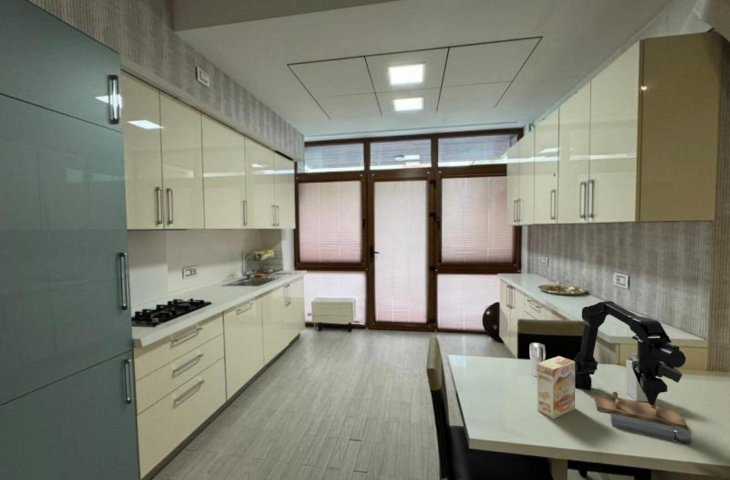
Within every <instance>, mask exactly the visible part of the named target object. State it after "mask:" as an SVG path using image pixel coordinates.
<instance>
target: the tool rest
mask: <svg viewBox="0 0 730 480" xmlns="http://www.w3.org/2000/svg"><path fill="white" fill-rule="evenodd" d="M618 395H619V393H618V392H616V391H612V395H611V396H610V395H607V394H602V393H598V392H597V393H596V392H594V393H593V397H594V402H595V406H596V410H597V411H599V412H600V411H601V412H604V413H605V412H606V413H609V414H610V413H612V414H617V415H621V416H626V417H630V418H635V419H640V420H644V421H649V422H653V423H658V424H663V425H667V426H672V427H680V428H683V429H686V430H687V429H688V428H687V427H688V426H687V424H686V422H685V421H684V419H683V418H682V416H681V414H679V412H678V411H677V409H676V408H673V407H668V406H663V405H662V406H661V405H658V402H657V400H656V401H655V404H654V405H650V404H649V402H644V401H636V400H634V399H633V400H632V399H627V398H622V397H619V396H618Z"/></svg>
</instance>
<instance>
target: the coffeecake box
mask: <svg viewBox="0 0 730 480" xmlns="http://www.w3.org/2000/svg"><path fill="white" fill-rule="evenodd" d="M536 378H537V379H536V382H537V390H536V391H537V392H536V393H537V396H536V398H537V409H536V410H537V411H538V412H539V413H542V414H544V415H545V416H548V417H549V418H551V419H553V420H554V419H556V418H558V417H561V416H562V415H565V414H566V413H568V412H570V411H572V410H574V409H576V388H575V361H574V360H572V359H569V358H566V357H563V356H561V355H558V356H556V357H555V356H554V357H552V358H548V359H545V361H543V362H540V363H537V377H536Z"/></svg>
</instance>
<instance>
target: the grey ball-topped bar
mask: <svg viewBox="0 0 730 480" xmlns="http://www.w3.org/2000/svg"><path fill="white" fill-rule="evenodd" d="M609 415H610V424H611V426H612V427H616V428H620V429H623V430H629V431H631V432H632V431H633V432H636V433H640V434H645V435H650V436H653V437H658V438H662V439H666V440H671V441H676V442H678V443H680V444H684V445H691V444H692V432H690V431H689V430H686V429H683V428H680V427H672V426H668V425H663V424H658V423H654V422H649V421H645V420H640V419H636V418H631V417H626V416H622V415H617V414H613V413H609Z"/></svg>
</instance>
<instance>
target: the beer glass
mask: <svg viewBox="0 0 730 480" xmlns="http://www.w3.org/2000/svg"><path fill="white" fill-rule="evenodd" d="M545 347H546V346H545V344H542V343H539V342H531V343H530V344H529V358H530V364H531V368H530V369H531V370H530V374H531V375H532V376H533V377H536V378H537V363H540V362H543V361H546V348H545Z"/></svg>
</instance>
